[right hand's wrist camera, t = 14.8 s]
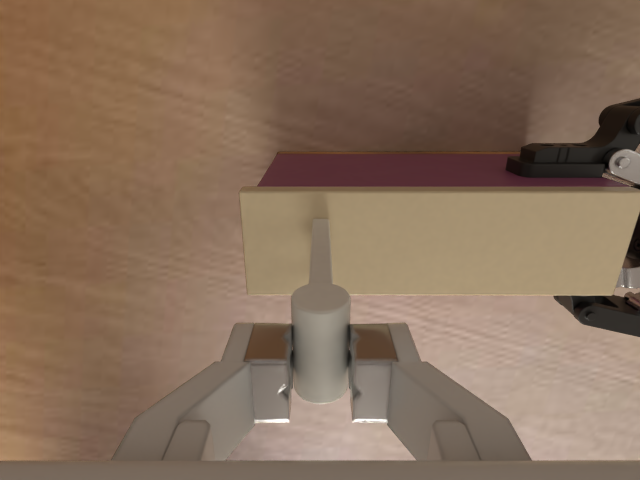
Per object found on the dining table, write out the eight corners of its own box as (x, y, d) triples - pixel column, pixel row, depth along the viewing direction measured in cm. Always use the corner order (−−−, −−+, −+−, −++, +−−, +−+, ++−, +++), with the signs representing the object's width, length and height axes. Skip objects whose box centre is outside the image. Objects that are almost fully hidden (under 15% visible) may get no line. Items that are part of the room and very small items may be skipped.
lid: (250, 286, 18) (198, 432, 11) (242, 185, 17) (173, 274, 9) (600, 286, 18) (804, 433, 11) (631, 186, 17) (904, 275, 9)
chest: (281, 223, 27) (262, 286, 18) (278, 151, 25) (256, 185, 17) (512, 223, 27) (599, 286, 18) (525, 151, 25) (630, 185, 17)
